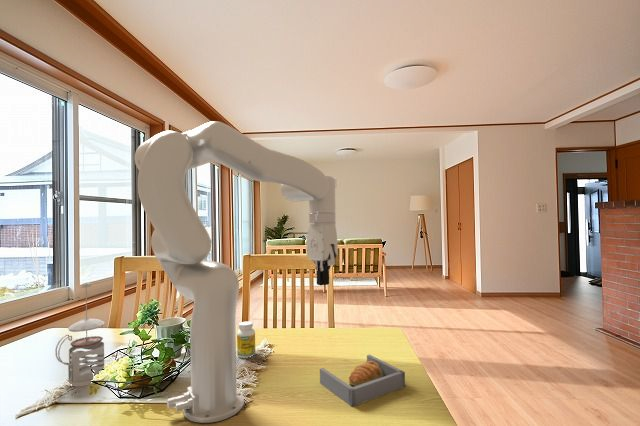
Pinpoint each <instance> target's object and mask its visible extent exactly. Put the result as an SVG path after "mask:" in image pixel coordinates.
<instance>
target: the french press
mask: <svg viewBox="0 0 640 426" xmlns="http://www.w3.org/2000/svg"><path fill="white" fill-rule="evenodd" d="M91 286H92V285H91V283H90V282H84V283H82V285H81V288H83V289H85V319H80V320H79V321H77V322H74V323H72V324H71V325H70V326H68V327H67V329H68V331H69V332H73V333H77V332H78V333H79V332H85V333H86V335H85V337H80V338H78V339H75V340H73V336H72V335H69V334H65V335H64V336H62V337H61V339H60V340H59V341H58V343H57V345H55V351H54V352H55V357H56V359H57V361H58V362H59V363H61V364H63V365H66V366H68V371H67V372H68V378H67V379H66V380H65V381H68V382H69V383H70V384H72V385H73V386H76V388H77V387H83V386H89V385H92V384H91V380H92V378H93V374H92V372H91V369H92V370H94V371H95V372H94V376H95V375H96V374H97V373H99V371H100V370H101V369H103V368H104V369H105V343H104V342H103V340H104V337H102V336H99V335H96V336H93V335H91V336H88V331H91V330H96V329H99V328H101V327H103V326H104V325H105V324H106V323H105V321H103V320H101V319H99V318H98V319H97V318H88V299H87V297H88V294H87V293H88V290H87V289H88V288H90V287H91ZM62 340H63V341H62ZM66 340H68V341H70V346H71V347H70V348H69V349H68V362H66V361H62V358H61V356H60V352H61V351H60V350H61V348H62V345H63V343H64V342H65V341H66ZM61 341H62V342H61ZM60 342H61V343H60ZM58 347H59V348H58ZM77 349H78V350H77ZM79 349H83V350H79ZM75 350H77V351H75ZM85 350H86V351H85ZM89 355H91V356H89ZM93 355H96V356H93ZM92 360H93V361H92ZM90 366H93V367H90Z"/></svg>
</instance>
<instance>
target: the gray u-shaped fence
mask: <svg viewBox="0 0 640 426" xmlns="http://www.w3.org/2000/svg"><path fill="white" fill-rule="evenodd" d="M366 361H374V362H376V363H377V364H378V365H379V367H380V368H381V370H382V372H383V377H381V378H378V379H375V380H372V381H370V382H367V383H364V384H361V385H358V386H351V384H348V383H346V382H345V381H343V380H342V379H341V378H339V377H337V375H334V374H333V373H331V372H330V371H329V370H327V369H326V368H324V367H322V368H319V383H320V385H322V386H323V387H325V388H326V389H327V390H329V392H331V393H333V394H334V395H335V396H337V397H338V398H340V399H341V400H342V401H344V402H345V403H346V404H347V405H349V406H350V407H355V406H358V405H360V404H363V403H365V402H367V401H371V400H373V399H376V398H379V397H381V396H384V395H386V394H389V393H392V392H394V391H398V390H401V389H403V388H405V387H406V373H405V371H404V370H402V369H400V368H398V367H395V366H393V365H391V364H389V363H387V362H385V361H383V360H382V359H380V358H378V357H376V356H374V355H371V354H368V355H366Z"/></svg>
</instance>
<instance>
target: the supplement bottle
mask: <svg viewBox="0 0 640 426" xmlns="http://www.w3.org/2000/svg"><path fill="white" fill-rule="evenodd" d="M253 325H254V324H253V322H252V321H242V322H239V324H238V330H237V332H236V356H237V357H238V358H239V359H248V358H247V357H250V356H252V355H254V354H255V355H256V331H255V329H254V328H253ZM255 355H254V356H255ZM252 357H253V356H252ZM250 358H251V357H250Z"/></svg>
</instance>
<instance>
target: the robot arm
mask: <svg viewBox="0 0 640 426" xmlns="http://www.w3.org/2000/svg"><path fill="white" fill-rule="evenodd" d="M213 162H216V163H217V164H220V165H222V166H224V167H226V168H227V169H230V170H232V171H234V172H236V173H238V174H240V175H242V176H243V177H246V178H248V179H250V180H253V181H257V182H261V183H262V182H263V183H273V184H280V193H281V194H282V196H283V197H284V198H285V200H288V201H290V202H296V203H298V202H308V227H307V233H306V234H307V236H306V258H308V259H309V260H311V262H312V263H313V264H314V265H315V270H316V285H317V286H327V285H329V284H330V271H331V266H332V267H333V266H334V265H336V262H335V260H337V258H338V253H339V251H338V250H339V248H338V247H339V246H338V234H337V227H336V221H337V220H336V181H335V178H334V177H333V176H330V175H325V173H324V172H323V171H322V170H320V169H318V167H316V166H314V165H312V164H310V163H309V162H307V161H306V160H303V159H301V158H299V157H295V156H292V155H289V154H286V153H283V152H280V151H277V150H273V149H270V148H268V147H265V146H263V145H262V144H260V143H258V142H257V141H255V140H254V139H251V138H250V137H249V136H246V134H244V133H242V132H240V131H238V130H237V129H235V128H234V127H232V126H230V125H228V124H226V123H224V122H222V121H219V120H217V121H215V120H214V121H213V120H212V121H209V122H206V123H204V124H202V125H200V126H198V127H195V128H194V129H192V130H191V129H190V130H188V131H185V132H179V131H176V130H175V131H174V130H166V131H162V132H160V133H157V134H155V135H153V136H152V137H150V138H149V139H148V140H146V141H144V142H142V143H141V144H140V145H139V146H138V147H137V149H136V150H135V153H134V163H135V166H136V169H138V175H137V193H138V197H139V200H140V203H141V206H142V208H143V210H144V212H145V214H146V216H147V218H148V219H149V221H150V224H151V225H152V227H153V228H154V230H153V231H152V235H151V238H150V245H151V250H152V253H153V254H154V257H155V258H156V260H157V261H158V263H159V265H160V266H161V268H162V269H163V270H164V271H163V272H164V273H165V274H166V276H167V277H168V279H169V281H170V282H171V283H172V285H173V287H174V288H175V290H176V291H177V292H178V293H179V294H180V295H181V296H183V297H184V298H186V299H188V300H190V301H192V302H193V307H192V313H191V316H190V325H189V339H190V340H189V341H190V345H189V347H190V386H188V387H187V388H186V389H187V391H186V392H183V393H182V395H179V396H173V397H170V398H167V400H166V406H167V409H172V408H173V409H174V408H175V411H176V412H179V411H182V410H183V415H184V417H185V419H187V420H189V421H190V422H194V423H200V424H210V423H215V422H220V421H223V420H226V419H229V418H231V417H233V416H235V415H236V414H237V413H238V412H240V411H241V409H242V408H243V407H244V402H245V399H244V398H245V396H244V394H243V393H242V392H241V391H239V390H238V389H237V332H236V324H237V323H236V317H237V316H236V315H237V312H236V311H237V304H238V297H239V292H240V282H239V278H238V276H237V273H236V272H235V271H234V269H233V268H231V267H230V266H229V265H228V264H225V263H224V262H219V261H215V260H214V261H212V260H208V259H207V257H208V256H209V255H210V252H211V250H212V240H211V237H210V234H209V232H208V230H207V228H206V227H205V225H204V223H203V222H202V220H201V219H200V216H199V215H198V213H197V212H196V210H195V208H194V206H193V204H192V202H191V200H190V198H189V196H188V193H187V190H186V185H185V183H186V182H185V180H186V174H187V171H189V170H192V169H195V168H197V167H201V166H203V165H206V164H210V163H213Z"/></svg>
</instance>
